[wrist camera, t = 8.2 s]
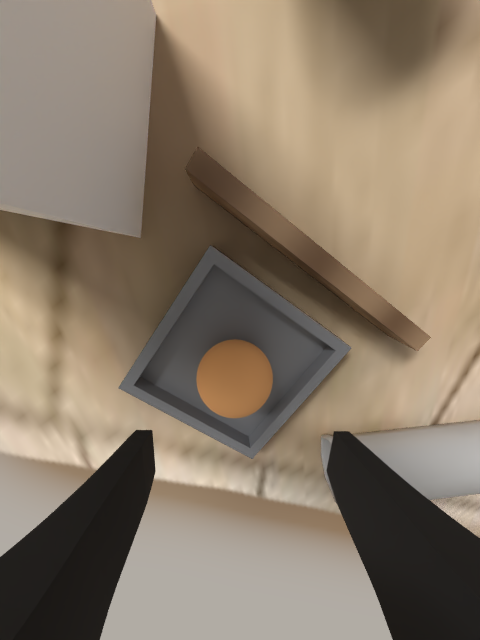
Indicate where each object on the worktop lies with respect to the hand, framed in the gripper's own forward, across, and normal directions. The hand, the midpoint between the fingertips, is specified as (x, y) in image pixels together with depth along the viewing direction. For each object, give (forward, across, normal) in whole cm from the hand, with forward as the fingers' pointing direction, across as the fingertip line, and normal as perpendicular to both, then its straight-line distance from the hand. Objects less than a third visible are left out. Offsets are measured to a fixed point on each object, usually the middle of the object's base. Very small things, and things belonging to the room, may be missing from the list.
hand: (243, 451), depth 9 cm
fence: (+9, -5, -7) cm, 13 cm away
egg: (+6, 0, 0) cm, 6 cm away
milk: (+10, +12, -15) cm, 21 cm away
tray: (+9, 0, 0) cm, 9 cm away
